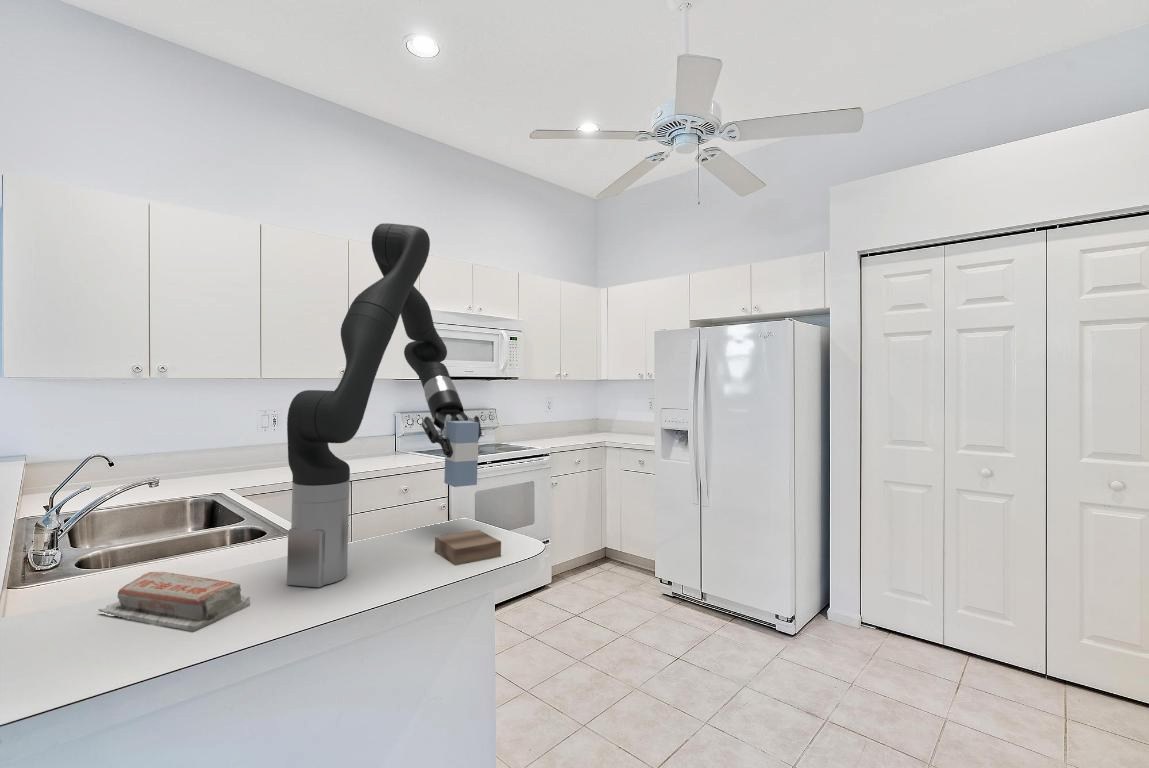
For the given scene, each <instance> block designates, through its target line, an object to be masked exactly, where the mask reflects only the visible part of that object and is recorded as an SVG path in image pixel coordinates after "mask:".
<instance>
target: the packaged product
mask: <svg viewBox="0 0 1149 768" xmlns="http://www.w3.org/2000/svg"><path fill="white" fill-rule="evenodd" d="M241 592H242V588H241V584H239V583H236V582H231V581H225V580H219V579H213V578H208V577H207V578H206V577H201V576H200V577H199V576H192V575H187V574H180V573H174V572H166V571H149V572H146V573H143V575H142V574H141V576H140V577H138V578H136V579H134V580H132V582H129V583H127V584H125V585H124V586H122V587H121V588H120V589H119V590H118V592H117V599H118V601H116V602H114V603H112V604H109V605H106V607H105V608H98V612H99V611H100V612H104V613H107V614H111V615H114V616H118V617H117V618H120V617H124V618H129V619H132V620H136V621H135V622H137V621H141V622H140V623H143V622H145V623H144V624H147V623H149V624H148V625H151V624H153V626H157V625H160V626H159V627H166V626H167V627H166V628H171V627H172V628H173V629H180V630H184V631H187V632H188V631H189V632H196V631H198V630H201V629H203V628H205V627H208V626H210V625H212V624H214V623H216V622H218V621H220V620H222V619H224V618H226V617H228V616H230V615H233V614H235V613H237V612H240V611H241V610H244V609H245V608H247V607H250V606H251V596H247V597H245V596H244V595H242V594H241ZM249 605H250V606H249ZM132 620H131V621H132Z"/></svg>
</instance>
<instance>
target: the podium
mask: <svg viewBox="0 0 1149 768" xmlns="http://www.w3.org/2000/svg"><path fill="white" fill-rule="evenodd" d="M434 552H435V553H437V554H438V555H440V556H441V557H443V558H444V559H446V560H447V561H449V562H450V563H452V564H453V565H455V566H457V565H456V564H458V565H462V564H461V563H463V564H467V562H468V563H472V561H473V562H478V561H483V560H489V559H493V558H492V557H494V558H497V557H496V556H499V557H501V556H502V555H501V554H502V541H501V540H499V539H497V538H495V537H494V536H491V535H489V534H487V533H485V532H484V531H482V530H479V529H475V530H470V531H463V532H456V533H451V534H450V533H449V534H445V535H439V536H438V535H437V536H434ZM488 558H489V559H488Z"/></svg>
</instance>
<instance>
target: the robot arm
mask: <svg viewBox="0 0 1149 768" xmlns="http://www.w3.org/2000/svg"><path fill="white" fill-rule="evenodd" d="M430 241H431V240H430V237H429V234H428V232H427V230H425V229H424V228H422V227H420V226H416V225H409V224H408V225H407V224H399V223H398V224H397V223H388V222H387V223H385V222H384V223H379V224H377V226H375V228H374V230H373V232H372V235H371V249H372V254H373V256H374V259H375V262H376V264H377V266H378V268H379V270H380V272H381V275H382V276H383V277H381V278H380V279H379V280H377V281H376V282H374V283H372V284H371V285H369V286H368V287H367V288H366V289H364V290H362V292H361V293H358V295H357V296H356V297H355V298H354V300H352V303H351V304H350V306H349V309H348V310H347V312H346V315H345V317H344V318H343V321H342V324H341V327H340V339H341V340H340V341H341V345H342V347H343V348H342V349H343V352H344V356H345V368H344V372H343V374H342V377H341V379H340V381H339V383H338V385H337V387H336V389H335V390H324V389H323V390H322V389H321V390H320V389H318V390H317V389H314V390H313V389H307V390H306V389H305V390H302V391H299V392H298V393H297V394H296V395H295V396H294V397H293V398H292V401H291V402H290V405H289V407H288V411H287V417H286V418H287V420H286V428H287V429H286V430H287V431H286V432H287V435H286V436H287V461H288V467H289V469H290V471H291V474H292V475H291V476H292V482H291V483H292V487H291V489H292V490H291V518H290V522H291V524H290V525H291V526H290V527H291V528H289V529H288V531H287V557H286V558H287V560H286V561H287V562H286V564H287V567H286V568H287V569H286V585H287V586H288V585H289V586H299V587H309V588H322V587H323V586H326V585H329V584H333V583H336V582H339V581H341V580H343V579H345V578H346V577H347V575H348V562H349V560H348V559H349V557H348V556H349V515H350V514H349V513H350V511H349V510H350V506H349V505H350V477H351V476H350V475H351V470H350V469H351V468H350V465H349V464H348V463H347V461H344V460H342V459H341V458H339V457H338V456H336V455H335V454H334V453H333V452H332V451H331V449H330V446H329V444H346V443H347V442H349V441H351V440H352V439H353V438H354V437H355V436H356V434H357V433H358V431H359V429H360V427H361V424H362V421H363V419H364V416H365V412H366V409H367V406H368V404H369V403H368V402H369V399H370V395H371V393H372V388H373V384H374V382H375V378H376V376H377V373H378V371H379V368H380V365H381V363H382V361H383V357H384V355H385V352H386V350H387V348H388V345H389V343H390V342H391V339H392V337H393V334H394V332H395V329H396V327H397V325H398V322H399V318H401V321H402V324H403V327H404V332H405V334H406V337H408V339H410V340H412V341H411V342H409V343H406V345H405V347H404V351H403V354H404V358H405V361H406V362H407V364H408V365H409V366H410V367H411V369H412V370H413V371H414V372H415V374H416V375H417V376H418V378H419V379H420V382H421V383H420V384H421V386H422V388H423V392H424V397H425V401H426V403H427V406H428V407H427V408H428V410H429V412H430V415H431V417H429V416H425V417H424V418H423V421H422V424H421V428H422V429H423V430H424V432H425V434H426V436H427V437H428V439H429V441H430V443H432V444H439V445H440V447H441V450H442V454H443V455H444V456H445V455H446V456H447V458H450V457H451V456H452V454H453V450H452V447H451V444H450V441H449V439H447V437H448V434H447V428H446V421H472V422H478V423H479V434H478V441H479V440H480V437H482V428H481V426H482V425H481V422H480V417H479V416H477V415H475V416H474V417H469V416H468V415H467V414H465V411H464V406H463V404H462V402H461V401H462V400H461V399H460V396H459V394H458V390H457V389H456V385H454V383H453V380H452V378H451V377H450V376H451V375H450V373H449V370H448V368H447V367H446V365H445V364H444V363H443V361H445V359H446V358H447V356H448V349H447V346H446V344H445V343H444V342H445V341H443V339H442V338H441V336H440V335H439V333H438V331H437V330H436V327H435V324H434V319H433V316H432V312H431V309H430V306H429V303H428V301H427V300H426V298H425V296H424V295H423V294H422V293H421V292H420V291H419V289H417V287H415V283H416V282H417V280H418V278H419V277H420V274H421V273H422V271H423V269H424V267H425V265H426V262H427V260H428V258H429V254H430V248H431V247H430V246H431V243H430ZM436 428H438V429H439V430H440V432H438V430H437V429H436ZM479 450H480V447H479V445H478V452H479Z"/></svg>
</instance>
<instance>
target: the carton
mask: <svg viewBox="0 0 1149 768" xmlns="http://www.w3.org/2000/svg"><path fill="white" fill-rule="evenodd" d="M446 428H447V434H448V437H447V439H449V441H450V444H451V447H452V450H453V454H452V456H451V457H450V458H447V456H446V455H444V481H443V483H444V484H446V485H449V486H451V487H454V488H459V487H468V486H477V485H478V466H479V465H478V464H479V463H478V462H479V461H478V460H479V451H478V446H479V440H478V434H479V423H478V422H472V421H446Z"/></svg>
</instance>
